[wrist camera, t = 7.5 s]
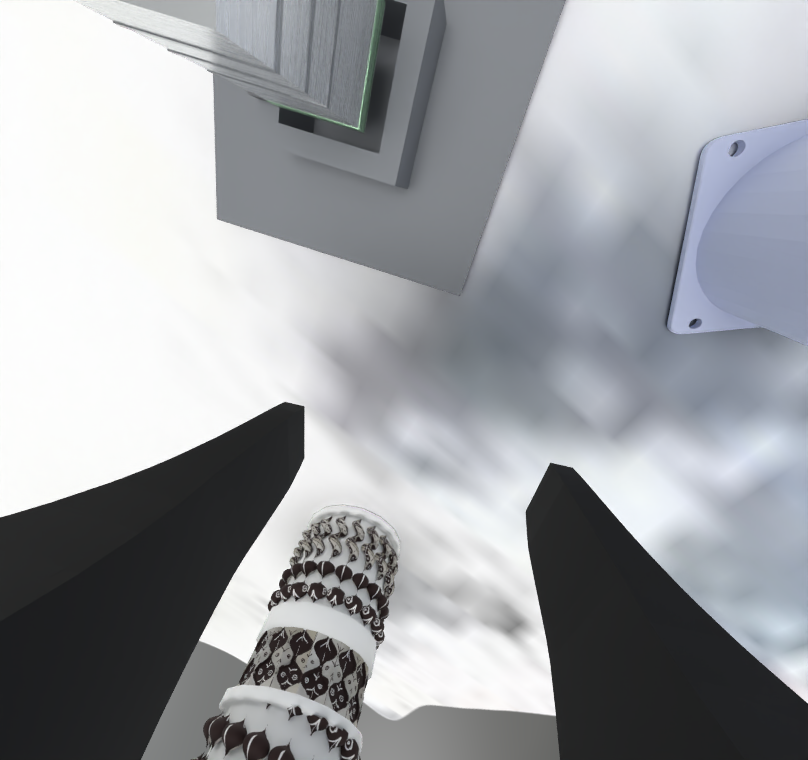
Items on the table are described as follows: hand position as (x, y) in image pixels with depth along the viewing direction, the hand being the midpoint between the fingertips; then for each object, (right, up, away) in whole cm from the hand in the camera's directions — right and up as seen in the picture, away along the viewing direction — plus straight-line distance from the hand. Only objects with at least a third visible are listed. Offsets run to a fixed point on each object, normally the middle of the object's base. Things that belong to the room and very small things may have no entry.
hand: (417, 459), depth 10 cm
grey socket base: (-2, +14, +5) cm, 15 cm away
